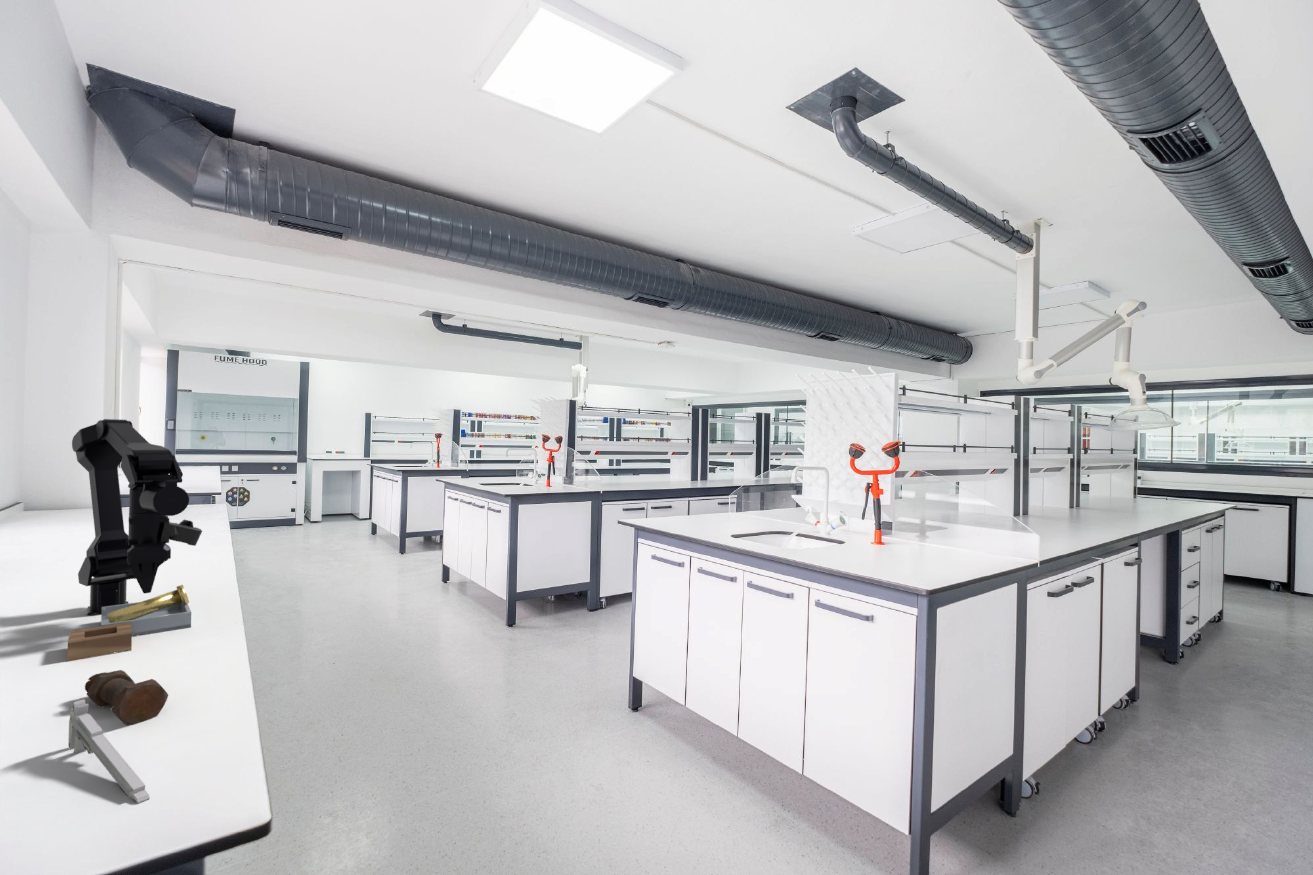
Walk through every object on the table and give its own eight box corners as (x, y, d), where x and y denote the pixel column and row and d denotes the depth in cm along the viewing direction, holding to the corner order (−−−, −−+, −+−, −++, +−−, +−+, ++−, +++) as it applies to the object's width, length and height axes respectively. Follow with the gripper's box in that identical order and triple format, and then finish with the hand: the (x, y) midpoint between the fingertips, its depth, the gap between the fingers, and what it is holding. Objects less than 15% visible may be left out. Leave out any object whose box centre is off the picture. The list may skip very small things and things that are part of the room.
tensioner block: (69, 648, 104) (69, 631, 104) (130, 638, 110) (130, 622, 110) (67, 661, 98) (67, 643, 98) (131, 650, 104) (131, 633, 104)
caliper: (67, 751, 72) (68, 699, 72) (79, 747, 73) (80, 696, 73) (137, 806, 61) (139, 746, 61) (150, 801, 62) (152, 741, 62)
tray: (101, 621, 119) (101, 607, 119) (183, 609, 127) (184, 596, 127) (100, 641, 108) (101, 625, 108) (190, 627, 116) (191, 611, 116)
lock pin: (105, 613, 112) (183, 586, 120) (105, 608, 115) (181, 582, 123) (113, 632, 113) (190, 604, 121) (112, 627, 115) (187, 600, 124)
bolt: (105, 706, 87) (150, 729, 79) (64, 700, 83) (108, 724, 76) (130, 665, 89) (176, 684, 82) (92, 658, 86) (136, 677, 78)
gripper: (204, 513, 116) (202, 593, 116) (194, 504, 130) (192, 575, 130) (128, 518, 108) (126, 603, 108) (126, 508, 122) (124, 583, 122)
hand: (146, 590), depth 117 cm, fingers open, 5 cm apart
